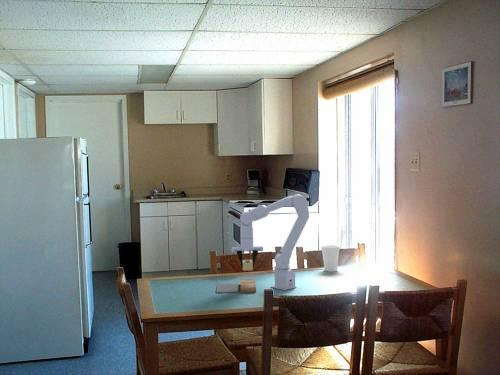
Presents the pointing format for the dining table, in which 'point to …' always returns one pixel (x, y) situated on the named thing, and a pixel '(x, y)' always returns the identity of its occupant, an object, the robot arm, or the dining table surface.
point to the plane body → (247, 286)
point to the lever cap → (247, 264)
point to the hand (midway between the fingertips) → (247, 266)
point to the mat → (227, 288)
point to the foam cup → (330, 256)
